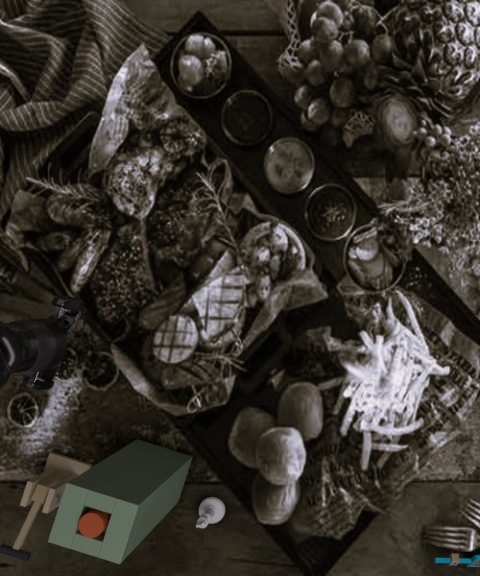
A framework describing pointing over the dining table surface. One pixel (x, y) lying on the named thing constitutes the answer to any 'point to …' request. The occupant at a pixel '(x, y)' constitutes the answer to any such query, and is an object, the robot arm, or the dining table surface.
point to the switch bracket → (54, 479)
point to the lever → (27, 525)
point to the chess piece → (210, 511)
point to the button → (93, 523)
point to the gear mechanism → (459, 560)
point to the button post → (121, 499)
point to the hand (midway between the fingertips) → (71, 340)
